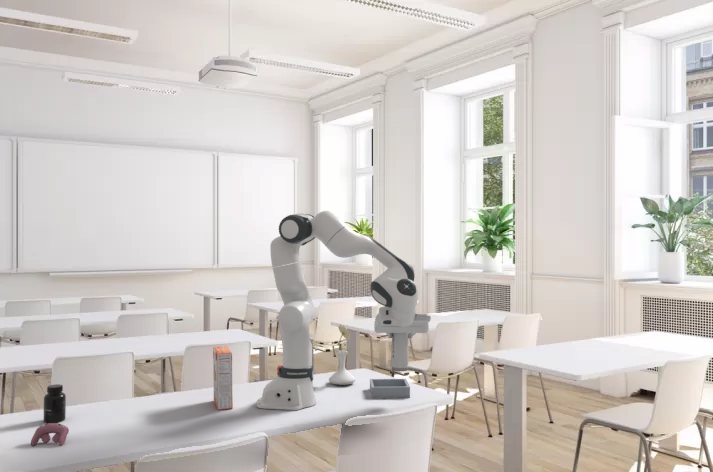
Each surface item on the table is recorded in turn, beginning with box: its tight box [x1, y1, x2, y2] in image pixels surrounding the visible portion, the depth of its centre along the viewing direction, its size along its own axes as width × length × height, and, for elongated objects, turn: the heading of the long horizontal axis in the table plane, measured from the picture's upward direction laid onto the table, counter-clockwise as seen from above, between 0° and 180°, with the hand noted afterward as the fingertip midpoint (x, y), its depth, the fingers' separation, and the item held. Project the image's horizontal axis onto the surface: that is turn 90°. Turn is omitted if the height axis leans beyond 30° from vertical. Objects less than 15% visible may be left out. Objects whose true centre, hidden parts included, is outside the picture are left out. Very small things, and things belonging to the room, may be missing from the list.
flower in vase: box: [328, 324, 356, 386], centre depth 266 cm, size 13×11×25 cm
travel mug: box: [391, 333, 409, 372], centre depth 236 cm, size 6×7×20 cm
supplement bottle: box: [43, 384, 67, 424], centre depth 213 cm, size 7×7×12 cm
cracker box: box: [212, 345, 234, 411], centre depth 233 cm, size 14×6×21 cm, turn 18°
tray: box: [369, 378, 411, 399], centre depth 250 cm, size 15×14×4 cm
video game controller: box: [30, 422, 70, 447], centre depth 190 cm, size 10×5×7 cm, turn 92°
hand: (400, 336), depth 236 cm, fingers closed on travel mug, 6 cm apart
